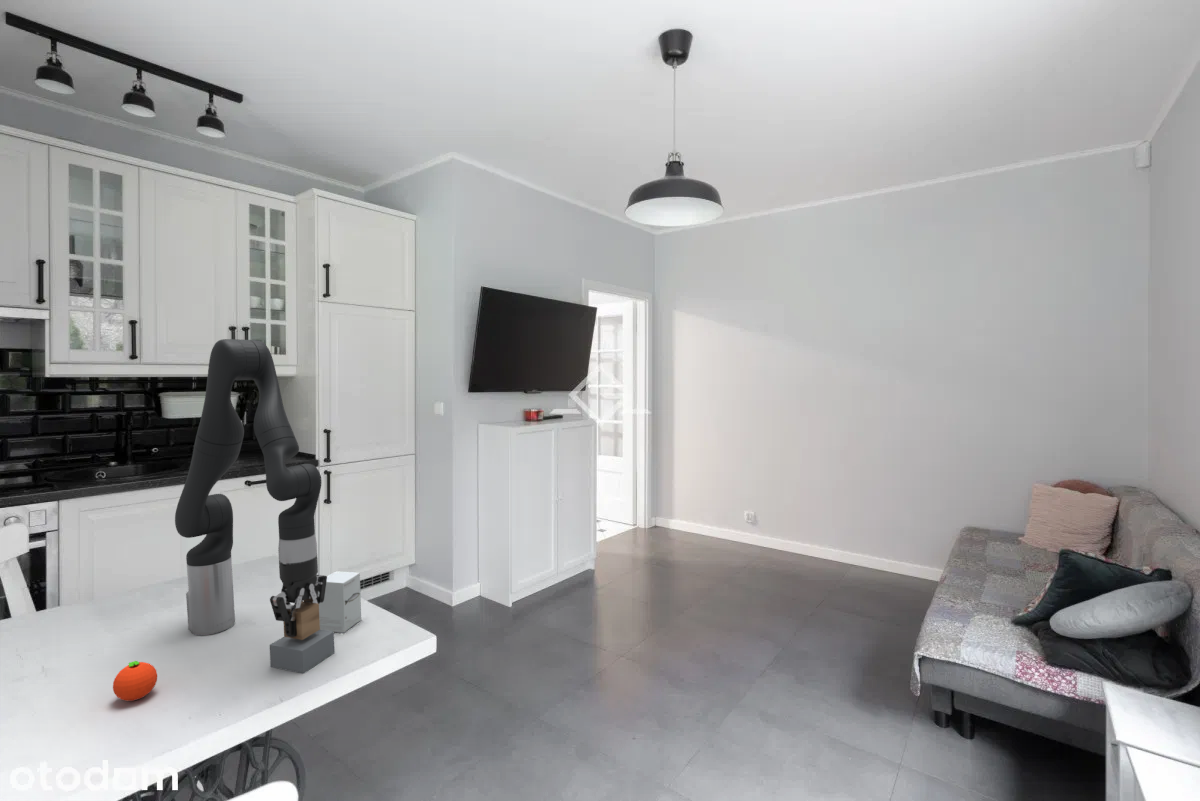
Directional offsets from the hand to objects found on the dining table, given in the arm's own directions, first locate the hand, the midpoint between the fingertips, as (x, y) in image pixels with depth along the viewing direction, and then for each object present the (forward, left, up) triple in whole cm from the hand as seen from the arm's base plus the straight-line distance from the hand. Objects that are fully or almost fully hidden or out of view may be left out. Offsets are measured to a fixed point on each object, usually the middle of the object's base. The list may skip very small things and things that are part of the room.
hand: (301, 630), depth 129 cm
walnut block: (0, 0, -1) cm, 1 cm away
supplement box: (-4, +16, -7) cm, 18 cm away
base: (0, 0, -7) cm, 7 cm away
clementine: (-21, -21, -7) cm, 31 cm away
